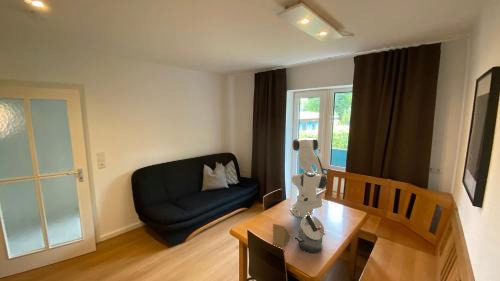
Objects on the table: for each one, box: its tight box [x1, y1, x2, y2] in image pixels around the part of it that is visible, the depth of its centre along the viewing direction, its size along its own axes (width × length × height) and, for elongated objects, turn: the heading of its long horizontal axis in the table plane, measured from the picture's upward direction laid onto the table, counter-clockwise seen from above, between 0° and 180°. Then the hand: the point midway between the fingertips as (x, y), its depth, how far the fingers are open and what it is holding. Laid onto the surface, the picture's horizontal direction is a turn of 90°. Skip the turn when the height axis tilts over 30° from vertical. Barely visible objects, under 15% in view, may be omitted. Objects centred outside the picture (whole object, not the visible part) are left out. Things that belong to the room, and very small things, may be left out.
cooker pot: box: [294, 229, 326, 254], centre depth 146 cm, size 16×22×9 cm
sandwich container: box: [272, 223, 292, 247], centre depth 154 cm, size 9×15×15 cm, turn 150°
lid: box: [300, 215, 325, 241], centre depth 142 cm, size 17×17×3 cm
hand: (309, 215), depth 145 cm, fingers closed
